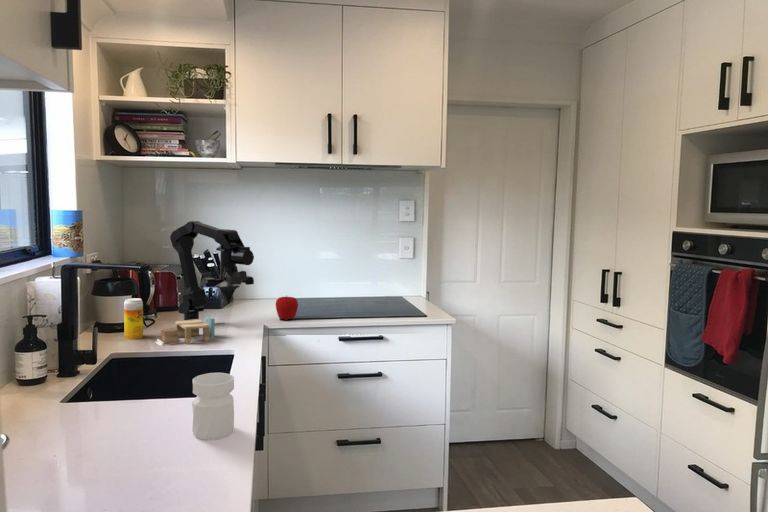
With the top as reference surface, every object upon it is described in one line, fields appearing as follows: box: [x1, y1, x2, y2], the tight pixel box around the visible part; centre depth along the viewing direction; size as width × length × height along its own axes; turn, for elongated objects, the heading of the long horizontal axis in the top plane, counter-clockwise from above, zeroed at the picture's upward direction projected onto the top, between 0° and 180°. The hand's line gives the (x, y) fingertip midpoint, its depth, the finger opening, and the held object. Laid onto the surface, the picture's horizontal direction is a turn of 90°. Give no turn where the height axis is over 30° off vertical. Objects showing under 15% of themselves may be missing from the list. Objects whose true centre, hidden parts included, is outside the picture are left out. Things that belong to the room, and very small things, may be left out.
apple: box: [275, 295, 299, 321], centre depth 233 cm, size 10×10×11 cm
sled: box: [154, 316, 216, 347], centre depth 189 cm, size 6×19×8 cm, turn 129°
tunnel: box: [174, 318, 210, 345], centre depth 191 cm, size 12×8×7 cm
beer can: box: [123, 297, 144, 340], centre depth 191 cm, size 6×6×15 cm
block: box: [159, 327, 179, 345], centre depth 186 cm, size 4×4×4 cm
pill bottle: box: [191, 372, 235, 441], centre depth 117 cm, size 9×9×12 cm
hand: (227, 303), depth 204 cm, fingers closed
